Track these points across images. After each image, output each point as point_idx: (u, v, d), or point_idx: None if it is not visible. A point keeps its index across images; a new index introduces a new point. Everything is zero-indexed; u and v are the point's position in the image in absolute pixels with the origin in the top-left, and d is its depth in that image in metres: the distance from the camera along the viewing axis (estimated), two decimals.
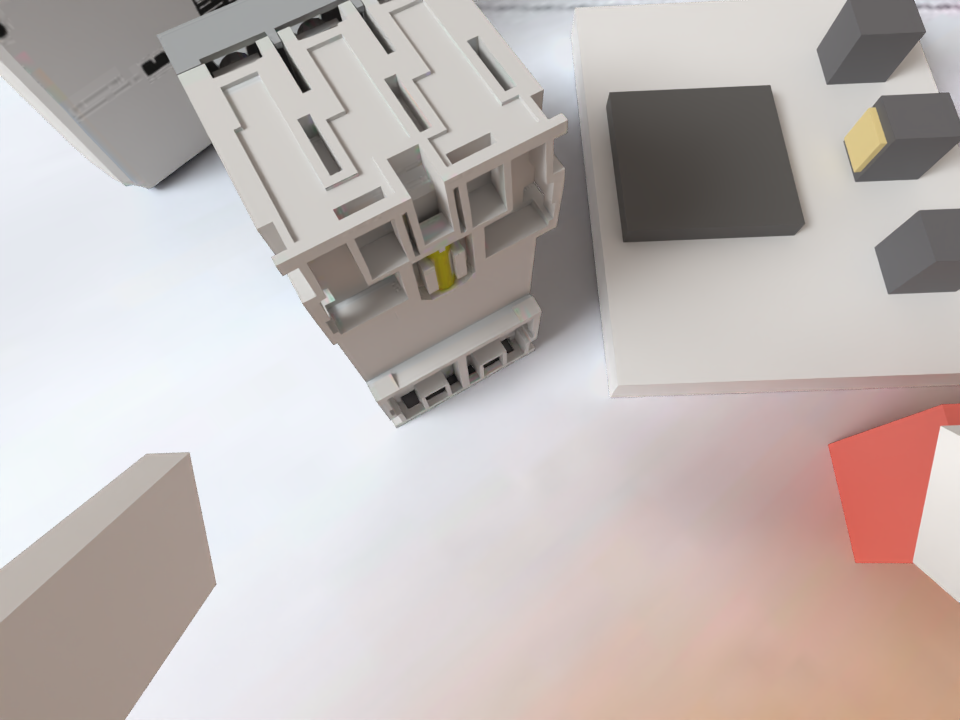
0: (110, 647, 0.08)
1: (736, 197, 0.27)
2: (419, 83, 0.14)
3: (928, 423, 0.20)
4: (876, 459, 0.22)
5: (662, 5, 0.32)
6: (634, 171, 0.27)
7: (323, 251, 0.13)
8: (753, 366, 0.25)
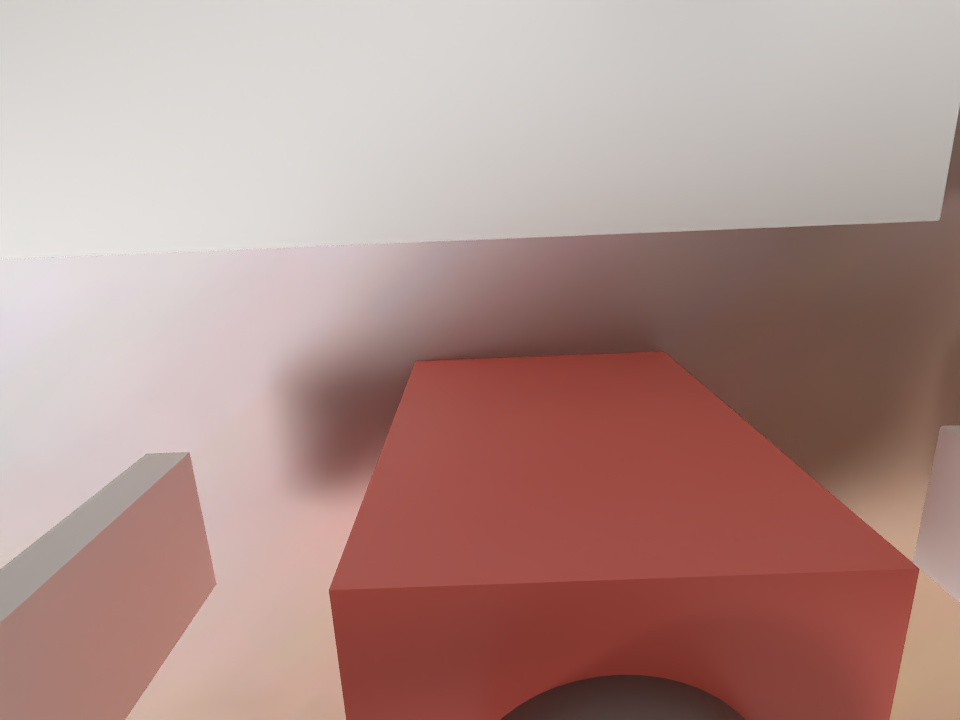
0: (110, 647, 0.08)
1: None
2: None
3: None
4: None
5: None
6: None
7: None
8: (152, 211, 0.09)
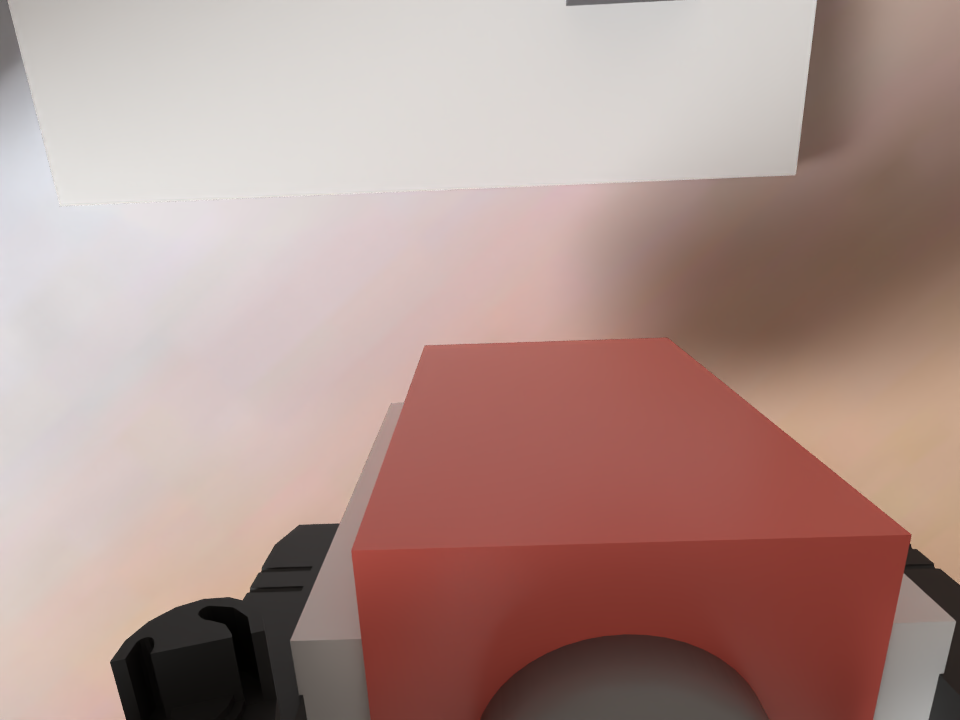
0: None
1: None
2: None
3: None
4: None
5: None
6: None
7: None
8: (291, 169, 0.14)
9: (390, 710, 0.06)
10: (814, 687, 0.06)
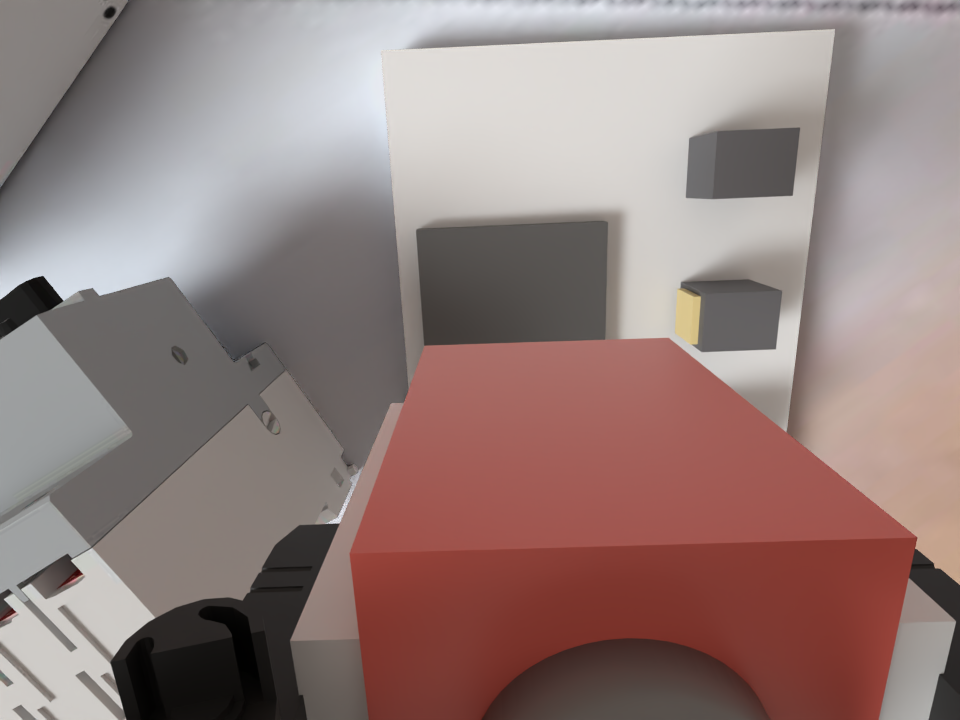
0: None
1: None
2: (109, 672, 0.16)
3: None
4: None
5: (501, 48, 0.23)
6: (439, 340, 0.25)
7: None
8: None
9: (389, 714, 0.06)
10: (818, 691, 0.06)
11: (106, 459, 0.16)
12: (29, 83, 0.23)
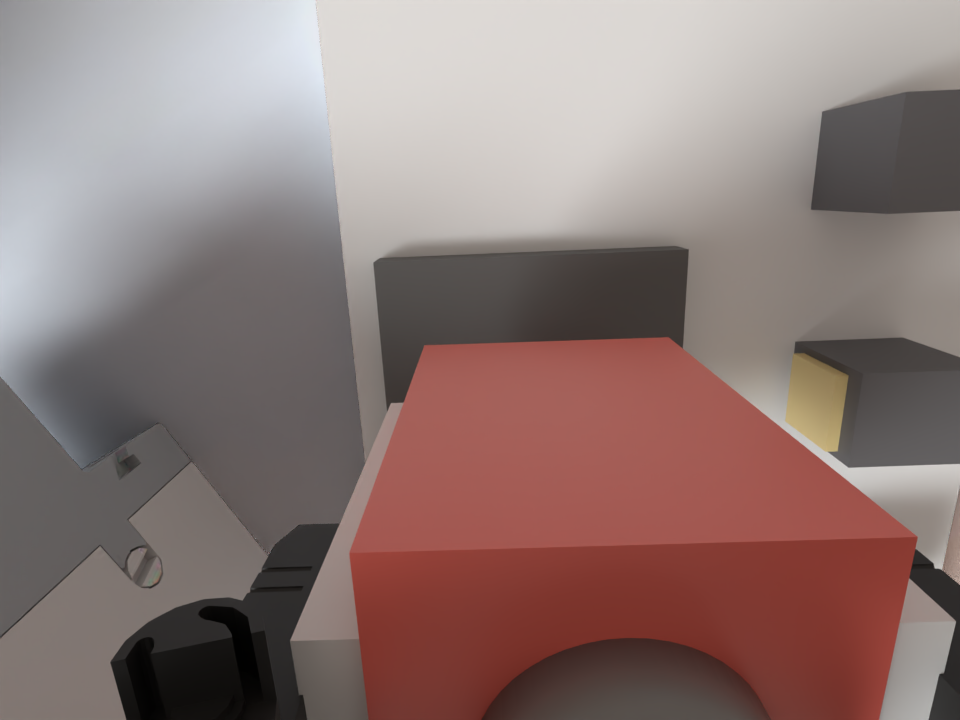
0: None
1: None
2: None
3: None
4: None
5: None
6: None
7: None
8: None
9: (389, 715, 0.06)
10: (818, 691, 0.06)
11: None
12: None
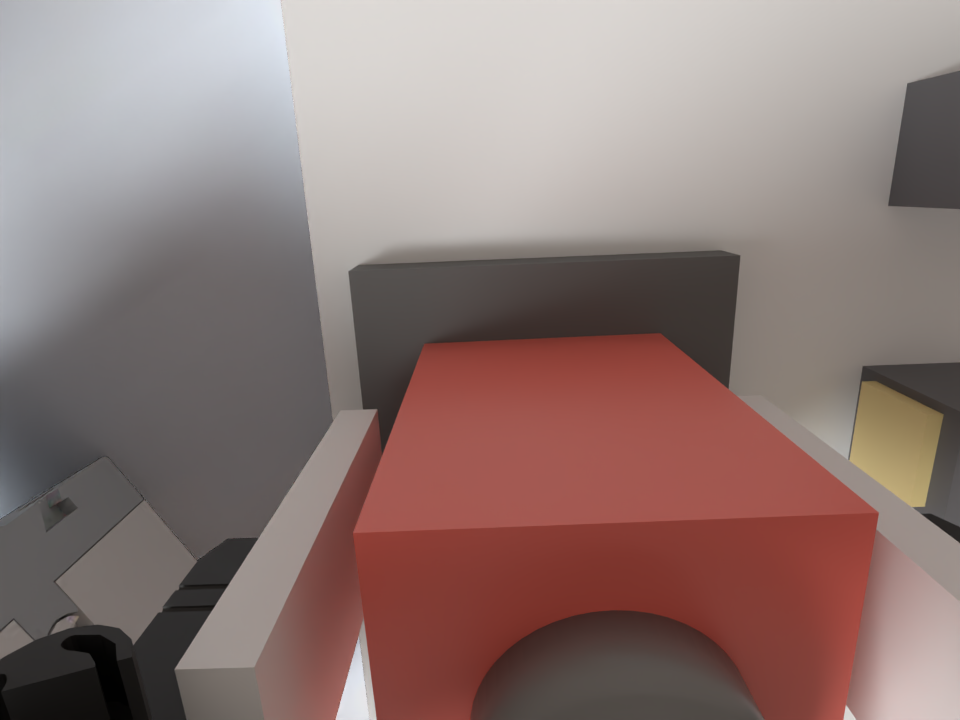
0: None
1: None
2: None
3: None
4: None
5: None
6: None
7: None
8: None
9: (392, 684, 0.06)
10: (792, 659, 0.06)
11: None
12: None
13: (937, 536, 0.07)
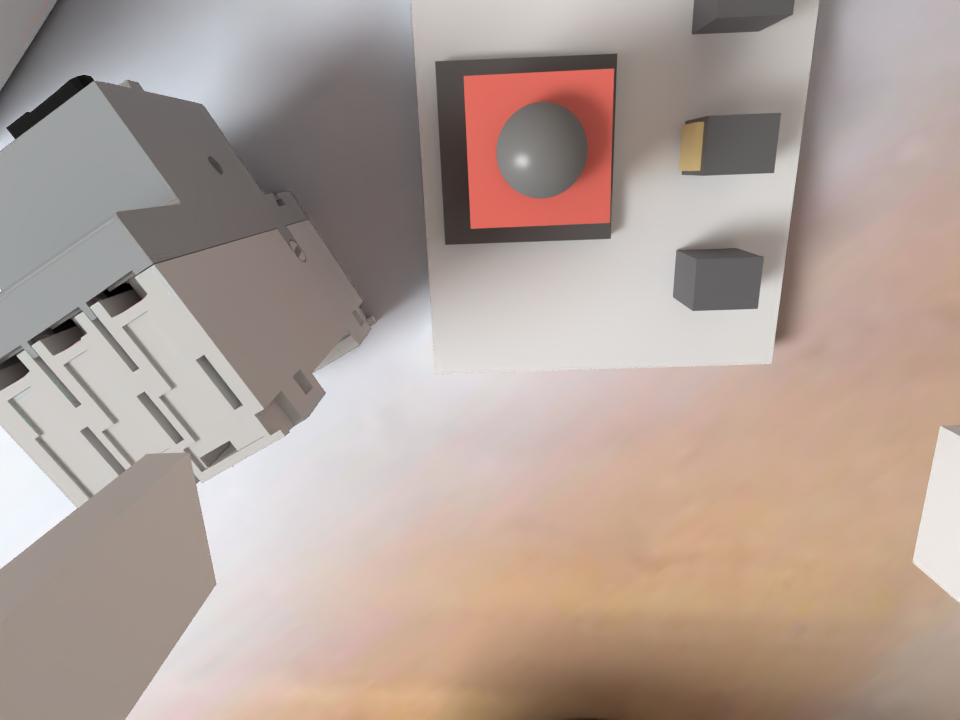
0: (110, 647, 0.08)
1: None
2: (166, 396, 0.18)
3: None
4: None
5: None
6: (455, 174, 0.27)
7: None
8: (544, 359, 0.31)
9: (472, 135, 0.20)
10: (593, 124, 0.20)
11: (160, 209, 0.18)
12: None
13: None
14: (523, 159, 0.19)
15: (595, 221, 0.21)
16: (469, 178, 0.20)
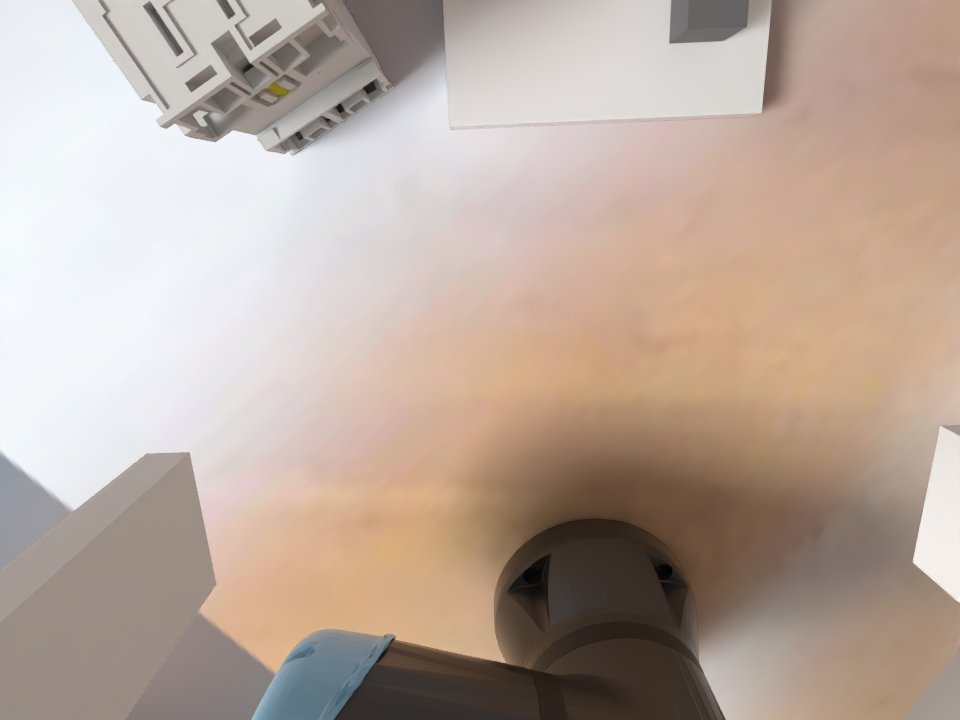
0: (110, 647, 0.08)
1: None
2: None
3: None
4: None
5: None
6: None
7: (186, 111, 0.21)
8: (551, 110, 0.33)
9: None
10: None
11: None
12: None
13: None
14: None
15: None
16: None
